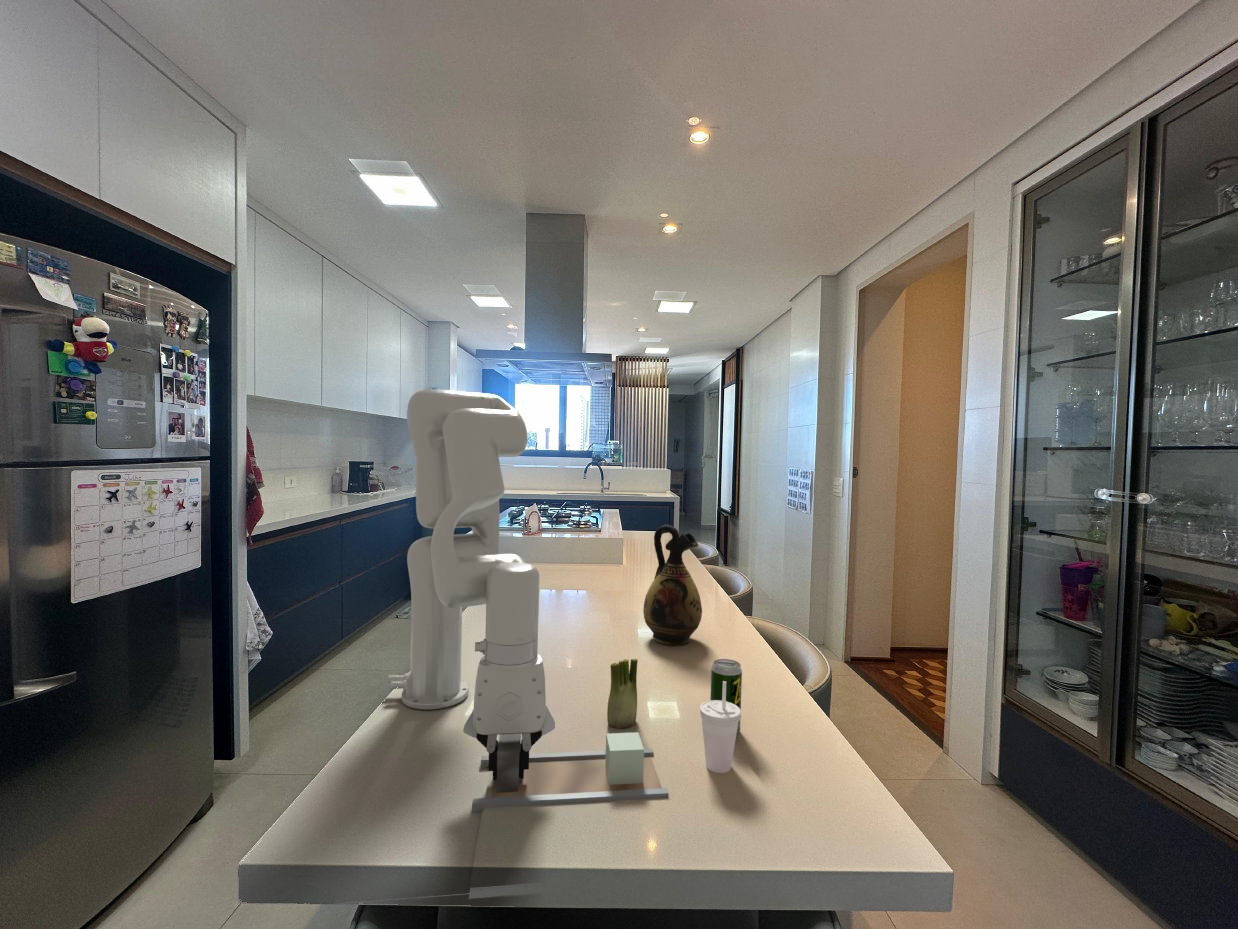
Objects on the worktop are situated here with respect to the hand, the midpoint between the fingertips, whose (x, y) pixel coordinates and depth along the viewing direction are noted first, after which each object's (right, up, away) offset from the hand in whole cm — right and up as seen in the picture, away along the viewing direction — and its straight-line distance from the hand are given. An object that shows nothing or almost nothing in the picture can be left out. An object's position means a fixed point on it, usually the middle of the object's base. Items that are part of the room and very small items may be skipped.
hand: (508, 773), depth 82 cm
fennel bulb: (+17, -2, +18) cm, 25 cm away
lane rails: (+9, -2, +1) cm, 9 cm away
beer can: (+35, -3, +18) cm, 39 cm away
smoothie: (+31, -3, +5) cm, 32 cm away
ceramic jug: (+29, -1, +67) cm, 73 cm away
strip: (+10, -2, +1) cm, 10 cm away
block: (+17, -1, +2) cm, 17 cm away
